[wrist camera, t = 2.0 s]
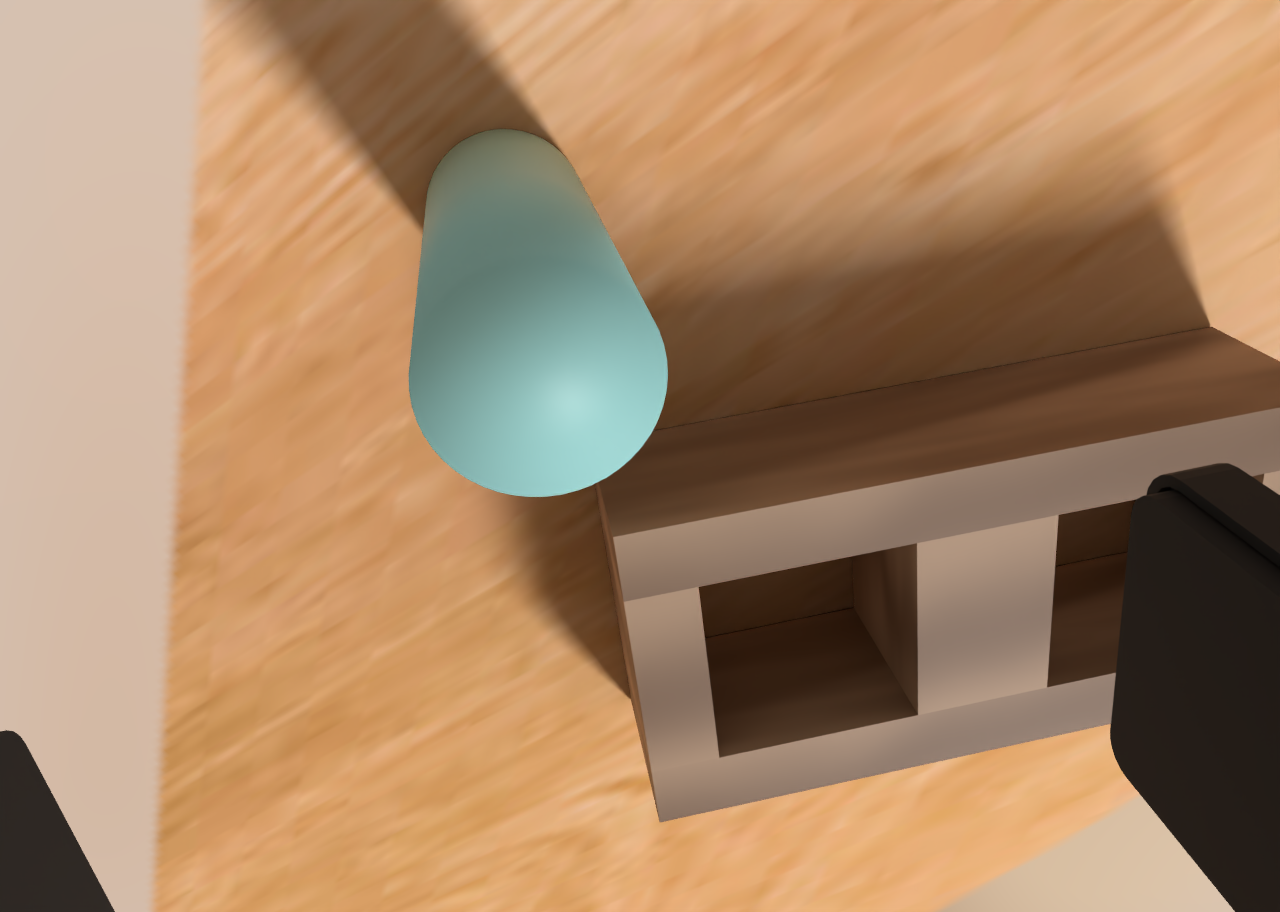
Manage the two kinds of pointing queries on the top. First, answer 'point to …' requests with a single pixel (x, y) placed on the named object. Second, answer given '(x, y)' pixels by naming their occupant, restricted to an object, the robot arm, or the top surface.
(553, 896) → the top surface
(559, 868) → the top surface
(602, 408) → the dowel
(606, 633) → the top surface
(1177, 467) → the socket block
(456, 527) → the top surface
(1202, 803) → the robot arm
